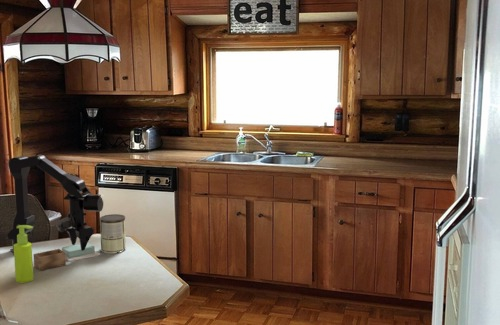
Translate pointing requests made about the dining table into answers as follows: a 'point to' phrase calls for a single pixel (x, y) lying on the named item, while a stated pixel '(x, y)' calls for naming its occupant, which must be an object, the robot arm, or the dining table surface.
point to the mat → (81, 256)
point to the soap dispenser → (23, 256)
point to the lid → (78, 250)
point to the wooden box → (49, 259)
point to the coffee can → (112, 233)
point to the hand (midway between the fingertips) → (78, 247)
